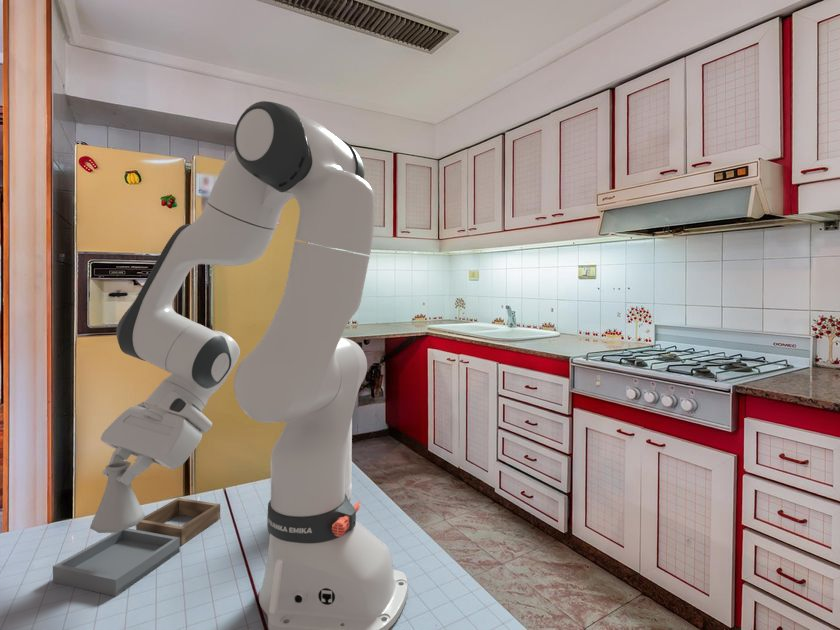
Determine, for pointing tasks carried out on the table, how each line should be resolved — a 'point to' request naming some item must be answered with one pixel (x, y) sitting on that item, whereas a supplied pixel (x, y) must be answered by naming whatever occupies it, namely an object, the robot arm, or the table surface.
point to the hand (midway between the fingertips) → (114, 479)
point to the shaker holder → (198, 509)
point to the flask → (117, 504)
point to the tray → (116, 561)
